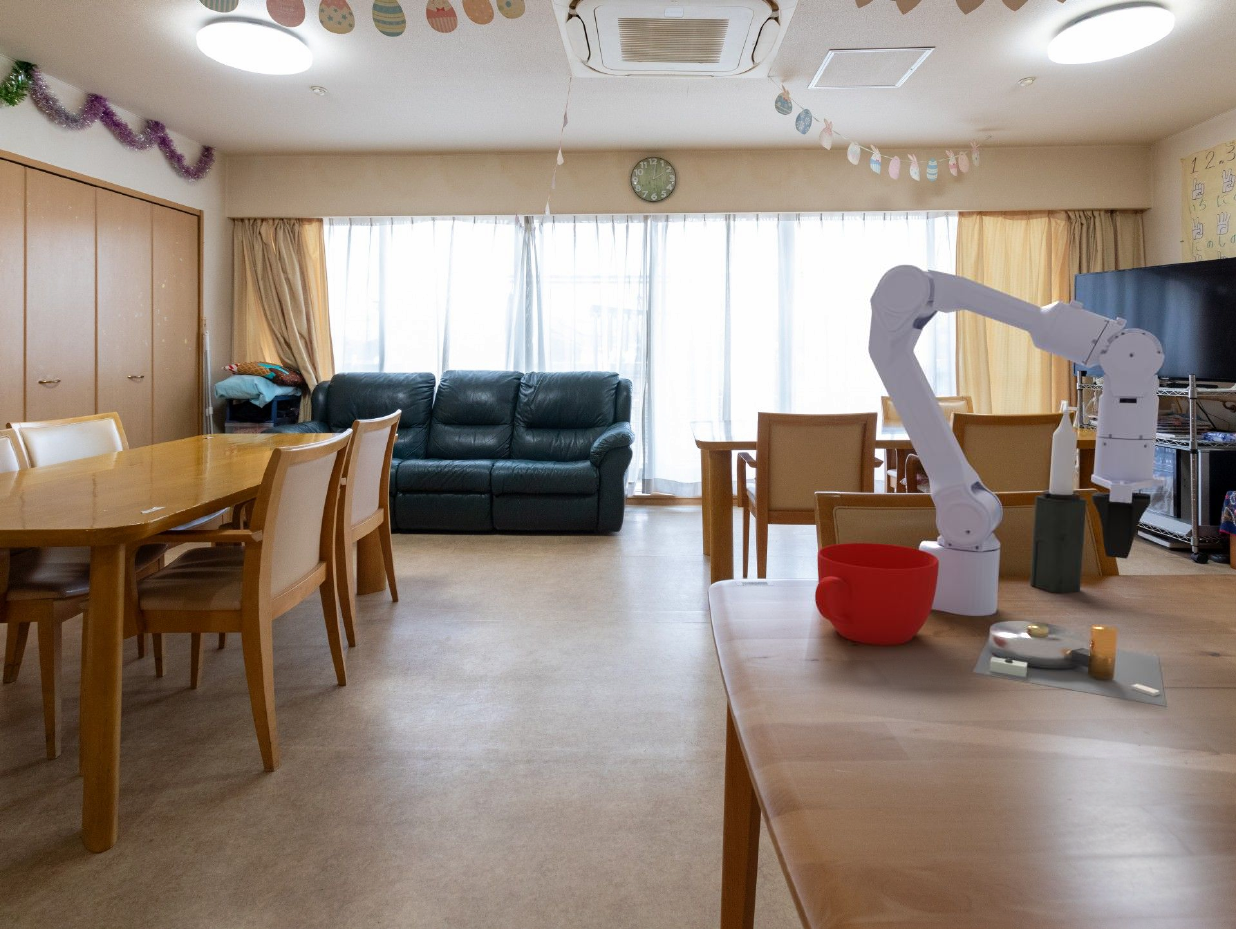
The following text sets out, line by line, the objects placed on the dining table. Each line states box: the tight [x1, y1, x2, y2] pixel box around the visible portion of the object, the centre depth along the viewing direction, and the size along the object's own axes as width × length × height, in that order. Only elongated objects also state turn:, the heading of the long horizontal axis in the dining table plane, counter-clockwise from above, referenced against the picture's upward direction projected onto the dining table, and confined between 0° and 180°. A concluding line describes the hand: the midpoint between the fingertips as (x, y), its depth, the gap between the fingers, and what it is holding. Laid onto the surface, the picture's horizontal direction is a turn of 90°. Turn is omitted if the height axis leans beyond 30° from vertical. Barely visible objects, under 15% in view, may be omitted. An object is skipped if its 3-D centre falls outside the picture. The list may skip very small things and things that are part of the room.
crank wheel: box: [988, 620, 1118, 679], centre depth 85 cm, size 13×9×5 cm
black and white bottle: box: [1029, 408, 1087, 594], centre depth 116 cm, size 5×5×25 cm
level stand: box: [972, 634, 1167, 707], centre depth 85 cm, size 16×15×2 cm
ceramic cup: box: [814, 542, 939, 646], centre depth 93 cm, size 13×17×10 cm
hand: (1116, 556), depth 95 cm, fingers closed
